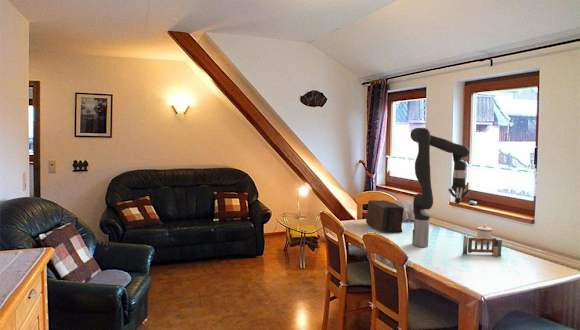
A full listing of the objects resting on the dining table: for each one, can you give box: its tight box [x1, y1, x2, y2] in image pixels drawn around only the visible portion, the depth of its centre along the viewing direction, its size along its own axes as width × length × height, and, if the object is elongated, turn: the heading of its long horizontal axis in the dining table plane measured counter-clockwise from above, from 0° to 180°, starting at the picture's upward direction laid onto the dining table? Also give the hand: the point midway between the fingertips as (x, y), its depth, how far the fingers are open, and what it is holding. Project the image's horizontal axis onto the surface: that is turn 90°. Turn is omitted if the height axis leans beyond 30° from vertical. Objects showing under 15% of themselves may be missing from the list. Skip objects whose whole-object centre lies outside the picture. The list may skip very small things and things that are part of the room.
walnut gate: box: [467, 236, 497, 254], centre depth 249 cm, size 16×2×9 cm, turn 90°
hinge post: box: [462, 235, 469, 256], centre depth 249 cm, size 2×2×11 cm
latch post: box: [491, 238, 503, 258], centre depth 247 cm, size 5×4×10 cm
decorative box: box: [365, 199, 404, 234], centre depth 309 cm, size 31×20×20 cm
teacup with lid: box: [476, 224, 493, 244], centre depth 280 cm, size 12×9×12 cm
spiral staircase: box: [394, 199, 414, 222], centre depth 339 cm, size 18×18×25 cm
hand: (457, 203), depth 268 cm, fingers closed
